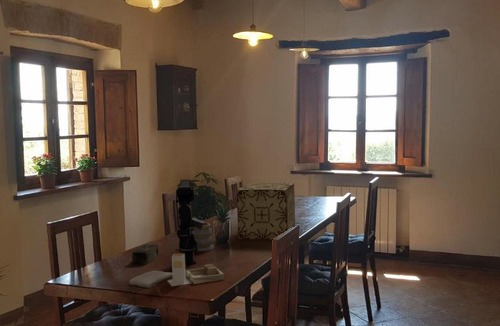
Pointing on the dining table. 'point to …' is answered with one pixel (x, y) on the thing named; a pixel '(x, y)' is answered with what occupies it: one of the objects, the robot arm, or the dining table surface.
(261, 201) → the decorative box
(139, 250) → the beverage carton
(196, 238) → the tankard
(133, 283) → the washcloth
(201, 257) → the dining table surface
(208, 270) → the walnut box
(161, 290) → the dining table surface
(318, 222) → the dining table surface
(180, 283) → the coaster
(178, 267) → the cream box
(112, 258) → the dining table surface
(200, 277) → the tray
